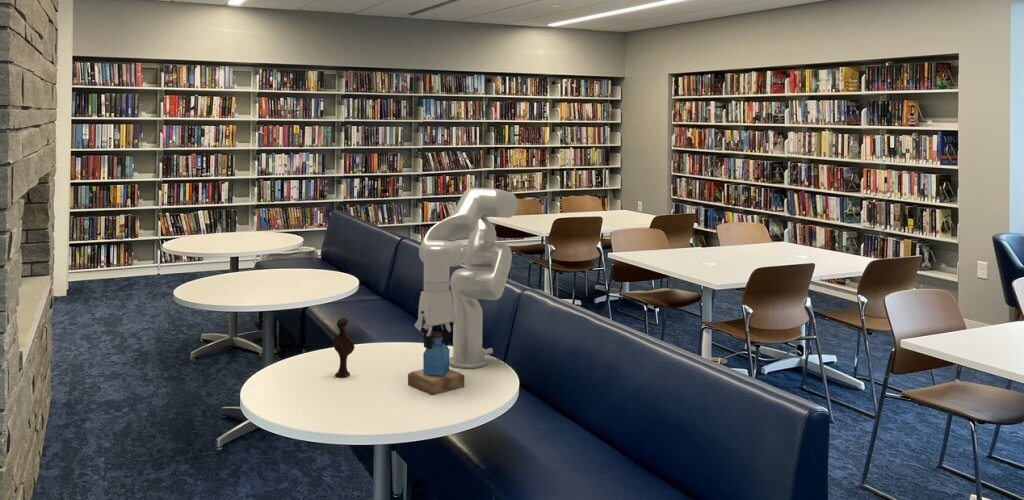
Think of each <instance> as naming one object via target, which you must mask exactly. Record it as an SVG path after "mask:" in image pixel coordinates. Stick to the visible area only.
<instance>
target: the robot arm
mask: <svg viewBox="0 0 1024 500" xmlns="http://www.w3.org/2000/svg"><path fill="white" fill-rule="evenodd" d="M518 206H519V205H518V199H517V197H516V195H515V194H514V193H513V192H511V191H506V190H504V189H499V188H490V187H489V188H488V187H487V188H486V187H470V188H468V189H466V190H465V191H464V192H463V193H462V195H461V197H460V199H459V201H458V202H457V205H456V206H455V208H454V210H453V212H452V213H451V215H450V216H448V217H446V218H444V219H442V220H441V221H439V222H437V223H435V224H433V226H432V227H430V228H429V229H428V231H427V232H426V233H425V235H424V237H423V239H422V241H421V244H420V246H419V250H418V257H419V259H420V261H421V262H422V263H423V291H420V296H419V302H418V314H417V317H418V318H417V321H416V322H415V323H414V327H415V328H416V329H417V330H418V331H419V332H420V333H421V334H422V335H423V347H424V349H426V348H427V349H432V334H431V333H432V332H433V331H432V330H433V327H436V326H441V329H442V330H441V331H440V332H442V335H441V336H442V341H441V342H445V345H447V346H449V345H450V333H451V331H452V329H453V331H452V332H453V333H452V335H453V336H452V344H453V345H452V351H453V352H452V356H450V357H449V366H451V367H454V368H458V369H477V368H481V367H483V366H486V365H487V358H485V357H486V356H488V355H492V354H493V353H494V350H493V349H494V348H492V347H489V348H486V349H485V348H484V347H483V320H484V319H483V317H484V316H483V308H482V306H481V303H480V302H479V300H487V301H488V300H489V301H495V300H496V301H497V300H499V299H500V298H501V297H502V296H503V293H504V290H505V287H506V283H507V280H508V276H509V273H510V269H511V266H512V257H513V255H512V254H513V253H512V249H511V247H510V246H509V245H508V244H506V243H503V242H495V240H496V238H497V231H496V229H495V227H494V225H493V224H492V223H491V221H490V220H489V217H490V218H507V219H509V218H512V217H514V216H515V215H516V213H517V210H518ZM466 235H469V237H468V241H467V244H466V245H464V243H462V242H459V241H452V239H456V238H460V237H463V236H466ZM462 264H464V266H465V267H463V268H458V269H456V270H454V271H453V272H452V274H451V277H450V268H452V267H454V268H455V267H460V266H461V265H462Z"/></svg>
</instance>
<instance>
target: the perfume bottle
mask: <svg viewBox="0 0 1024 500" xmlns="http://www.w3.org/2000/svg"><path fill="white" fill-rule="evenodd" d="M430 335H431V336H432V349H427V348H425V349H424V352H423V354H422V355H423V357H422V358H423V361H422V362H423V364H422V365H423V366H422V367H423V368H422V369H423V374H426V375H439V376H444V375H445V374H446V373H447V372H448V371H449V369H450V365H449V358H450V348H449V347H448V345H445V342H441V341H442V336H441V335H442V332H441V331H431V334H430Z"/></svg>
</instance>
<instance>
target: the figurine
mask: <svg viewBox="0 0 1024 500" xmlns="http://www.w3.org/2000/svg"><path fill="white" fill-rule="evenodd" d="M347 324H348V318H346V317H345V318H343V317H342V318H339V319H338V320H337V322H336V326H337V328H338V329H339V334H337V335H336V336H334V339H333V340H332V341H333V342H332V345H333V349H334V350H335V351H336V352H337V354H338V357H339V367H338V368H339V369H338V370H337V372H336V373H335V374H334V377H335V378H338V379H346V378H349V377H350V375H351V373H350V371H348V368H347V367H348V365H347V362H348V356H349V355H351V354H352V353H353V351H354V350H355V343H354V341H353V339H352V338H351V337H350V336H349V334H348V333H347V331H346V326H347Z"/></svg>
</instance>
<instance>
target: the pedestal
mask: <svg viewBox="0 0 1024 500" xmlns="http://www.w3.org/2000/svg"><path fill="white" fill-rule="evenodd" d="M407 385H408V386H409V387H410V388H411V387H412V388H414V389H417V390H419V391H421V392H423V393H426V394H428V395H431V396H434V395H439V394H442V393H445V392H449V391H454V390H457V389H461V388H464V387H465V375H464V374H463V373H460V372H459V371H456V370H453V369H451V368H449V371H448V372H447V373H446V374H445V375H444V376H439V375H426V374H423V368H421V369H417V370H414V371H410V372H409V373H407Z"/></svg>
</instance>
